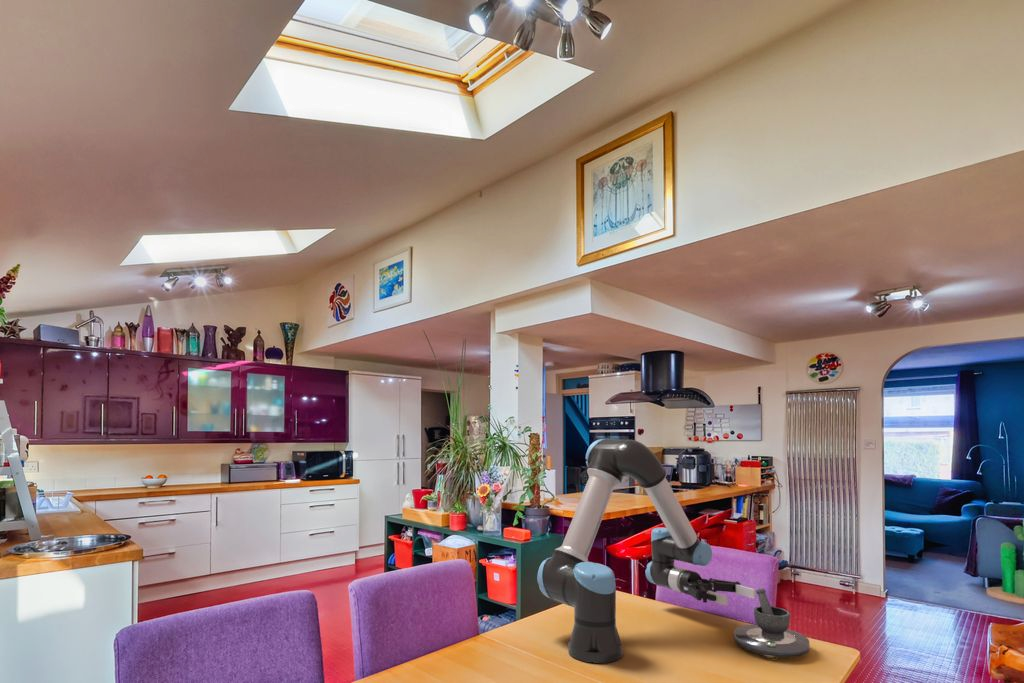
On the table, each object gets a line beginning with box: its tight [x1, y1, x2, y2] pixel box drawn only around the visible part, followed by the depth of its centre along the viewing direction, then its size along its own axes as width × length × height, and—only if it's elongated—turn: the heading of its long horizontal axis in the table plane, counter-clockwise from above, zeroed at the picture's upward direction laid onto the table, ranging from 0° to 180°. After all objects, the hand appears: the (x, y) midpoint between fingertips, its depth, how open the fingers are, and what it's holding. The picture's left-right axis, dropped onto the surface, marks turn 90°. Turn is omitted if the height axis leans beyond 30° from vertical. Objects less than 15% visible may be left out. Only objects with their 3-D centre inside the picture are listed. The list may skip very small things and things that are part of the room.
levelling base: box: [733, 624, 811, 660], centre depth 174 cm, size 20×20×4 cm
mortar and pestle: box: [753, 588, 791, 640], centre depth 175 cm, size 11×9×12 cm
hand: (741, 597), depth 183 cm, fingers open, 13 cm apart
